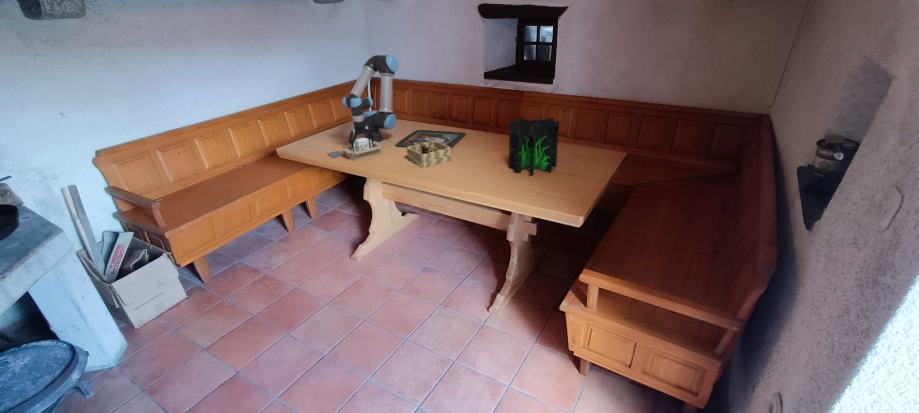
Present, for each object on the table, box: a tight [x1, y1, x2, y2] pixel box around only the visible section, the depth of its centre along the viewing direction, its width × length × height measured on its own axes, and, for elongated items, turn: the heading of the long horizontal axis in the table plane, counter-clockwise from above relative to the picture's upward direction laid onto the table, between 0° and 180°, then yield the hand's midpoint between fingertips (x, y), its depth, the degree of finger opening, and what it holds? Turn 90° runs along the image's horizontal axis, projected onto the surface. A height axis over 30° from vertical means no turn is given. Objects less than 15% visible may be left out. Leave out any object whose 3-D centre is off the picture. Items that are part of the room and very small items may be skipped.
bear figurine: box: [421, 143, 434, 154], centre depth 293 cm, size 14×15×12 cm
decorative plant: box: [508, 115, 560, 177], centre depth 267 cm, size 29×30×30 cm
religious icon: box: [395, 129, 467, 149], centre depth 331 cm, size 40×45×3 cm
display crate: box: [406, 140, 452, 169], centre depth 292 cm, size 23×22×9 cm
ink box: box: [354, 137, 369, 151], centre depth 306 cm, size 9×5×12 cm, turn 137°
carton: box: [342, 141, 383, 162], centre depth 307 cm, size 26×22×6 cm
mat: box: [326, 150, 345, 159], centre depth 311 cm, size 9×12×1 cm
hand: (363, 150), depth 307 cm, fingers open, 12 cm apart
